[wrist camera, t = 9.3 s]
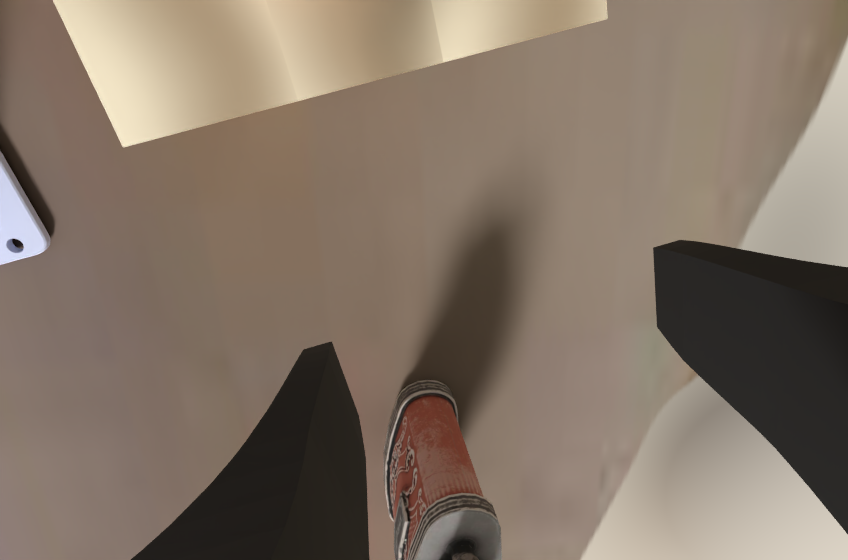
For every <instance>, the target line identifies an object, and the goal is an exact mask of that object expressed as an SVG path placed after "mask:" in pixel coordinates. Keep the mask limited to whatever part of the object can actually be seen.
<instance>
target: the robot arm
mask: <svg viewBox="0 0 848 560" xmlns="http://www.w3.org/2000/svg"><path fill="white" fill-rule="evenodd" d="M12 239H18V240H20V241H21V242H22V243H23V246H24V249H20V248H17V247H16V246H15V245H14V244H13V242H12ZM50 240H51V239H50V236H49V234H48V232H47V230H46V229H45V227H44V225H43V224H42V222H41V220H40V218H39V217H38V215H37V213H36V211H35V210H34V208H33V206H32V204H31V203H30V201H29V199H28V198H27V196H26V194H25V192H24V191H23V189H22V187H21V185H20V184H19V182H18V180H17V178H16V177H15V175H14V173H13V172H12V170H11V168H10V166H9V165H8V163H7V161H6V159H5V158H4V156H3V154H2V153H1V151H0V265H1V264H5V263H8V262H12V261H16V260H19V259H23V258H27V257H30V256H34V255H38V254H40V253H42V252H43V251H45V250H46V249H47V248H48V247H49V245H50ZM653 251H654V272H655V293H656V314H657V327H658V329H659V330H660V331H661V333H662V334H663V335H664V337H665V338H666V339H667V341H668V342H669V343H670V344H671V346H672V347H673V348H674V349H675V351H676V352H677V353H678V354H679V355H680V357H681V358H682V359H683V360H684V361H685V362H686V363H687V364H688V365H689V366H690V367H691V368H692V369H693V370H694V371H695V372H696V373H697V374H698V375H699V376H700V377H701V378H702V379H703V380H704V381H705V382H706V383H708V384H709V385H710V386H711V387H712V388H713V389H714V390H715V391H716V392H717V393H718V394H719V395H720V396H721V397H723V398H724V399H725V400H726V401H727V402H728V403H729V404H730V405H731V406H732V407H733V408H734V409H735V410H736V411H738V412H739V413H740V414H741V415H742V416H743V417H744V418H745V419H746V420H747V421H748V422H749V423H750V424H752V425H753V426H754V427H755V428H756V429H757V430H758V431H759V432H760V433H761V434H762V435H763V436H764V437H765V438H766V439H767V440H768V441H769V442H770V443H771V444H772V445H773V446H774V447H775V448H776V449H777V451H778V452H779V453H780V454H781V455H782V456H783V457H784V459H786V461H787V462H788V463H789V464H790V465H791V467H792V468H793V469H794V470H795V471H796V472H797V473H798V474H799V476H800V477H801V478H802V479H803V480H804V482H805V483H806V484H807V485H808V486H809V487H810V488H811V490H812V491H813V492H814V493H815V495H816V496H817V497H818V498H819V499H820V501H821V502H822V503H823V504H824V506H825V507H826V508H827V509H828V511H829V512H830V513H831V514H832V515H833V517H834V518H835V519H836V520H837V522H838V523H839V524H840V525H841V526H842V528H843V529H844V530H845V531H846V533H847V534H848V267H841V266H834V265H827V264H821V263H814V262H807V261H801V260H796V259H790V258H784V257H778V256H773V255H768V254H762V253H757V252H752V251H747V250H742V249H736V248H731V247H726V246H720V245H715V244H709V243H703V242H696V241H686V240H678V241H675V242H672V243H668V244H665V245H661V246H658V247H654V248H653ZM131 560H369V541H368V510H367V481H366V457H365V450H364V444H363V438H362V432H361V426H360V420H359V415H358V413H357V410H356V407H355V404H354V402H353V399H352V396H351V393H350V391H349V388H348V385H347V382H346V380H345V377H344V374H343V371H342V369H341V366H340V363H339V360H338V358H337V355H336V352H335V349H334V347H333V344H332V342H328V343H325V344H321V345H318V346H314V347H311V348H308V349H304V350H303V351H302V353H301V355H300V356H299V358H298V360H297V361H296V363H295V365H294V366H293V368H292V370H291V372H290V373H289V375H288V377H287V379H286V380H285V382H284V384H283V386H282V387H281V389H280V391H279V392H278V394H277V396H276V397H275V399H274V400H273V402H272V404H271V405H270V407H269V409H268V410H267V412H266V413H265V415H264V416H263V417H262V419H261V420H260V422H259V423H258V425H257V426H256V427H255V429H254V430H253V432H252V433H251V435H250V436H249V438H248V439H247V440H246V442H245V443H244V444H243V446H242V447H241V448H240V450H239V451H238V452H237V453H236V455H235V456H234V457H233V458H232V460H231V461H230V462H229V463H228V464H227V466H226V467H225V468H224V469H223V470H222V471H221V473H220V474H219V475H218V476H217V477H216V478H215V480H214V481H213V482H212V483H211V484H210V485H209V486H208V487H207V488H206V489H205V490H204V491H203V492H202V493H201V494H200V495H199V496H198V497H197V498H196V500H195V501H194V502H193V503H192V504H191V505H190V506H189V507H188V508H187V509H186V510H185V511H184V512H183V513H182V514H181V515H180V516H179V517H178V518H177V519H176V520H175V521H174V522H173V523H172V524H171V525H170V526H168V527H167V528H166V529H165V530H164V531H163V532H162V533H161V534H160V535H159V536H157V537H156V538H155V539H154V540H153V541H152V542H151V543H150V544H149V545H147V546H146V547H145V548H144V549H143V550H142V551H141V552H139V553H138V554H137V555H136V556H135V557H133V558H132V559H131Z"/></svg>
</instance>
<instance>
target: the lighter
mask: <svg viewBox="0 0 848 560" xmlns="http://www.w3.org/2000/svg"><path fill="white" fill-rule="evenodd" d="M384 485H385V492H386V498H387V504H388V511H389V516H390V518H391V520H392V521H393V522H394V553H395V560H502V553H501V528H500V525H499V522H498V519H497V517H496V514H495V511H494V508H493V505H492V503H491V502H489V501H488V500H487V499H486V498H485V497H483V494H482V491H481V488H480V485H479V482H478V479H477V477H476V474H475V471H474V468H473V465H472V462H471V459H470V456H469V454H468V451H467V448H466V445H465V442H464V439H463V436H462V433H461V431H460V428H459V425H458V412H457V406H456V403H455V400H454V397H453V395H452V392H451V390H450V389H449V388H448V387H447V386H446V385H445V384H443V383H441V382H438V381H433V380H423V381H417V382H415V383H412V384H410V385H408V386H407V387H405V388H404V389H403V390H402V391H401V392H400V394H399V396H398V397H397V400H396V404H395V407H394V410H393V413H392V416H391V419H390V422H389V425H388V431H387V436H386V442H385V447H384Z"/></svg>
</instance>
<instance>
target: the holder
mask: <svg viewBox="0 0 848 560" xmlns="http://www.w3.org/2000/svg"><path fill="white" fill-rule="evenodd" d="M53 1H54V3H55V5H56V8H57V10H58V12H59V14H60V16H61V18H62V20H63V22H64V24H65V26H66V29H67V31H68V33H69V35H70V37H71V39H72V41H73V43H74V45H75V47H76V50H77V52H78V54H79V56H80V58H81V60H82V62H83V64H84V66H85V68H86V71H87V73H88V75H89V77H90V79H91V81H92V83H93V85H94V87H95V89H96V92H97V94H98V96H99V98H100V100H101V102H102V104H103V106H104V108H105V110H106V113H107V115H108V117H109V119H110V121H111V123H112V125H113V127H114V129H115V131H116V134H117V136H118V138H119V140H120V142H121V144H122V146H123V147H127V146H130V145H134V144H138V143H142V142H146V141H149V140H153V139H157V138H161V137H164V136H168V135H172V134H176V133H179V132H183V131H187V130H191V129H195V128H198V127H202V126H206V125H210V124H213V123H217V122H221V121H225V120H228V119H232V118H236V117H240V116H244V115H247V114H251V113H255V112H259V111H262V110H266V109H270V108H274V107H277V106H281V105H285V104H289V103H293V102H296V101H300V100H304V99H308V98H311V97H315V96H319V95H323V94H326V93H330V92H334V91H338V90H342V89H345V88H349V87H353V86H357V85H360V84H364V83H368V82H372V81H375V80H379V79H383V78H387V77H391V76H394V75H398V74H402V73H406V72H409V71H413V70H417V69H421V68H424V67H428V66H432V65H436V64H440V63H443V62H447V61H451V60H455V59H458V58H462V57H466V56H470V55H473V54H477V53H481V52H485V51H489V50H492V49H496V48H500V47H504V46H507V45H511V44H515V43H519V42H522V41H526V40H530V39H534V38H538V37H541V36H545V35H549V34H553V33H556V32H560V31H564V30H568V29H571V28H575V27H579V26H583V25H587V24H590V23H594V22H598V21H602V20H605V19H608V17H607V4H606V0H53Z"/></svg>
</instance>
